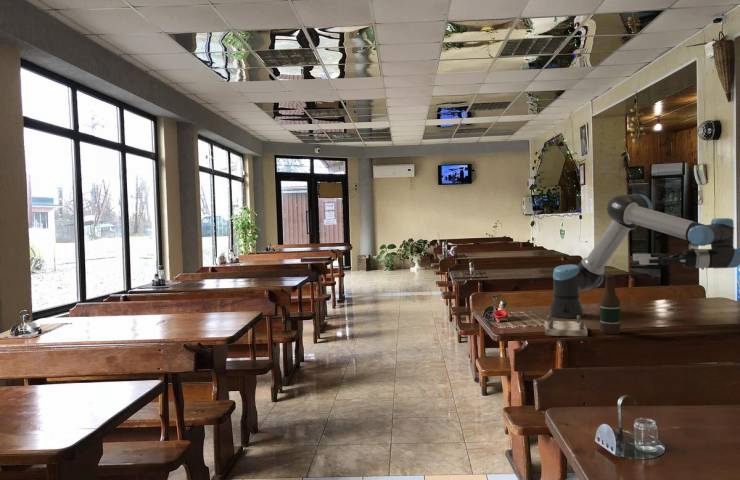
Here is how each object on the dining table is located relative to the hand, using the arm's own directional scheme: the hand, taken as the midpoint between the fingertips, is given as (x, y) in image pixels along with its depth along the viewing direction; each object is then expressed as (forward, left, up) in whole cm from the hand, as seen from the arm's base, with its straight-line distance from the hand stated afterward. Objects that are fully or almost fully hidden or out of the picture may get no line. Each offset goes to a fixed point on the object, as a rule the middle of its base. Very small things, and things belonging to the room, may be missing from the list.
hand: (636, 259), depth 235 cm
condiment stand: (-20, -19, -30) cm, 41 cm away
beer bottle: (-7, -7, -31) cm, 32 cm away
